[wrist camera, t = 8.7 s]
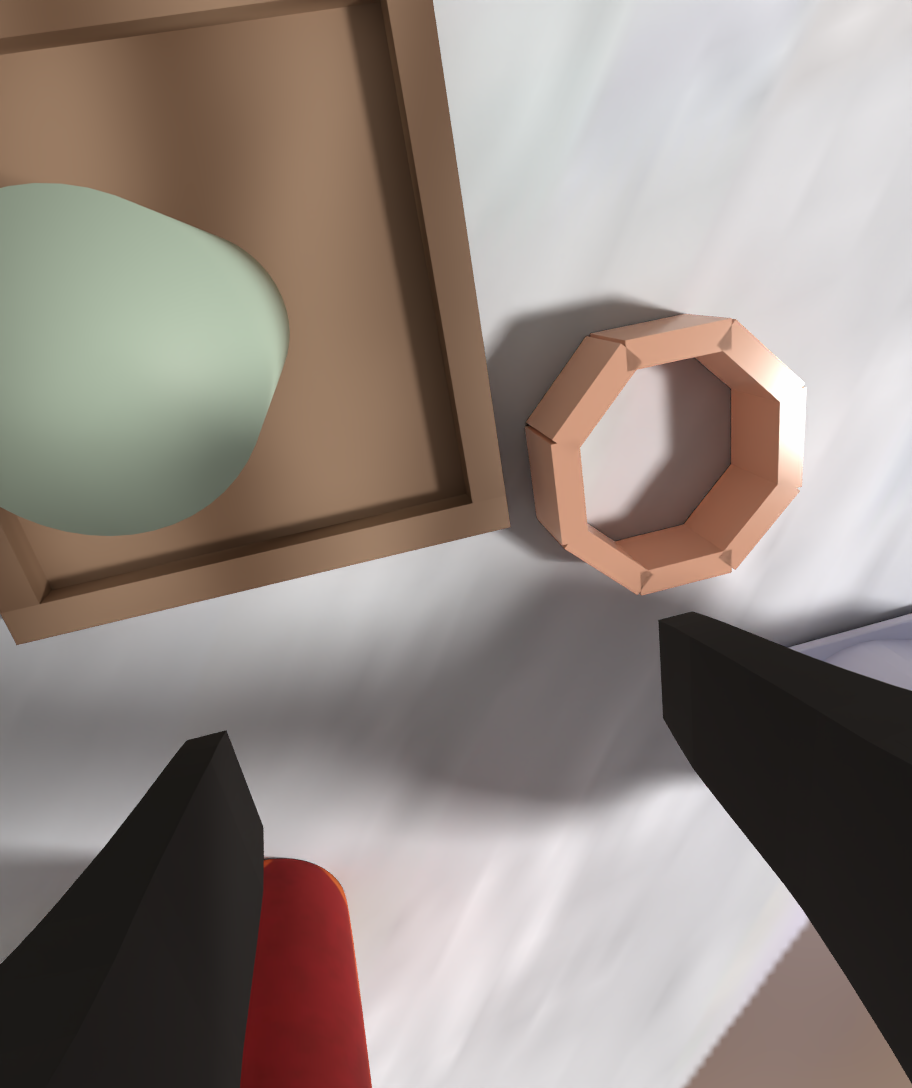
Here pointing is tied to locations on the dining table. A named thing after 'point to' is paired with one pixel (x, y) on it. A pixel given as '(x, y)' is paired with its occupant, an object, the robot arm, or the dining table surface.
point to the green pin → (126, 361)
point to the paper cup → (304, 986)
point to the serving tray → (294, 265)
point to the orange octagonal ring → (734, 501)
